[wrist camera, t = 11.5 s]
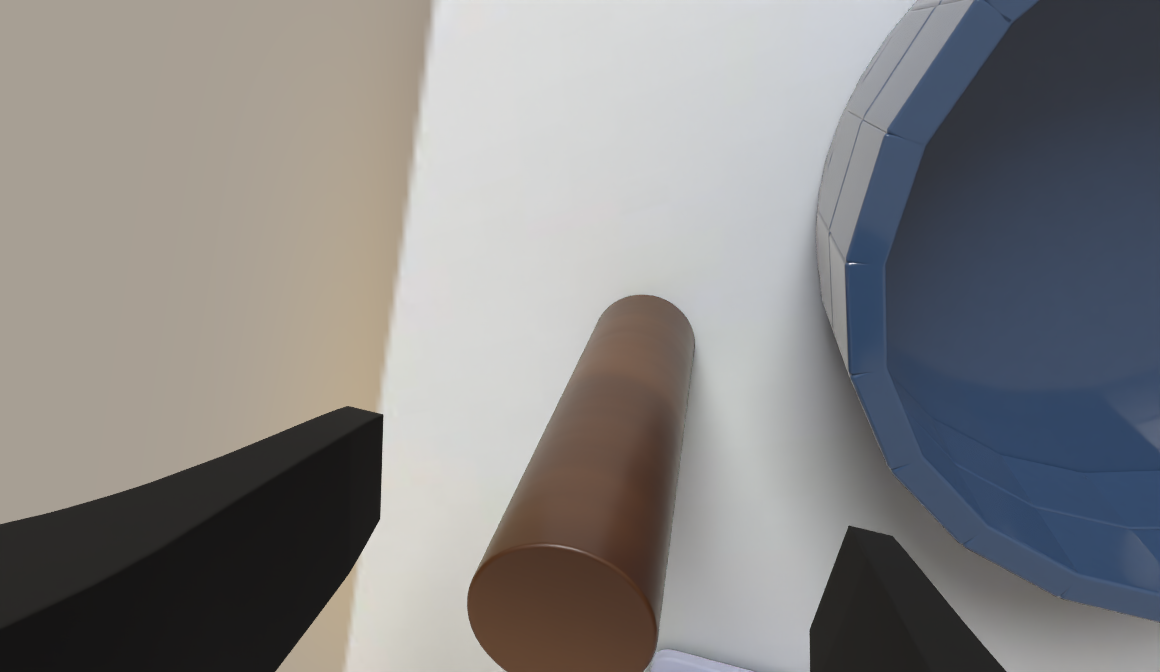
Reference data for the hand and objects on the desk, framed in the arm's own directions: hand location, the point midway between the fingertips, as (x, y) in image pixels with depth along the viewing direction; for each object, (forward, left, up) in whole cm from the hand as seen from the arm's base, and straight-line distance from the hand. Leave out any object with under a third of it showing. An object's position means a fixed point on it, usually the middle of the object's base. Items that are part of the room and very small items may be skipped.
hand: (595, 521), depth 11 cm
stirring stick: (0, 0, -7) cm, 7 cm away
